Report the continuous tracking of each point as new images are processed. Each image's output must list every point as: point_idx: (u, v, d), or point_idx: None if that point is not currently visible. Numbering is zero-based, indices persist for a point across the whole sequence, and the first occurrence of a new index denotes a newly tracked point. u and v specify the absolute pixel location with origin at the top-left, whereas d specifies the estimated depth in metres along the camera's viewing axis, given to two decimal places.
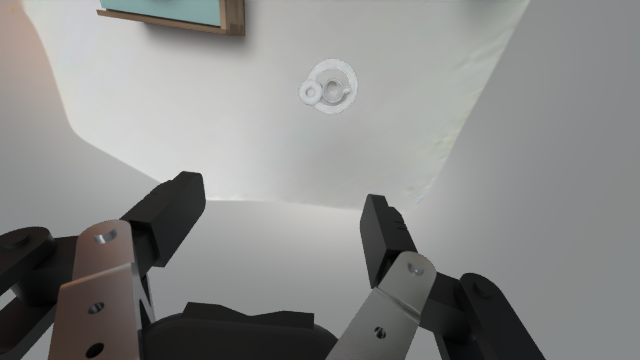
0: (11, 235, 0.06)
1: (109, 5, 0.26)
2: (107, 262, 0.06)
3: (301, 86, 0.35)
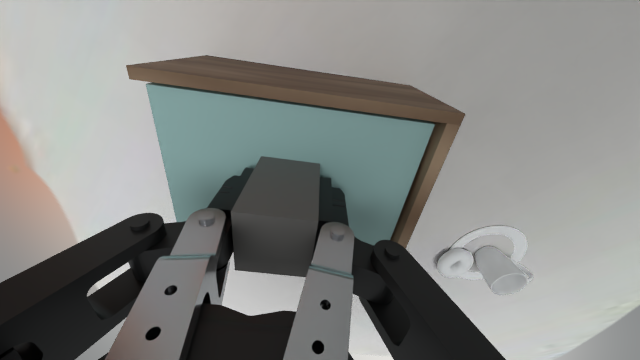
0: (138, 218, 0.07)
1: None
2: (219, 243, 0.07)
3: (447, 261, 0.23)
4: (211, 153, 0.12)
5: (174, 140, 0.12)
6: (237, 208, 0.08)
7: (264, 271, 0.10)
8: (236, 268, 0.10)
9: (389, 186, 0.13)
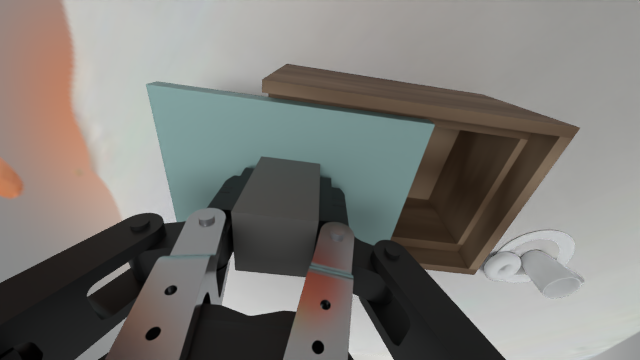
0: (138, 218, 0.07)
1: None
2: (219, 242, 0.07)
3: (497, 265, 0.24)
4: (211, 154, 0.12)
5: (174, 140, 0.12)
6: (237, 208, 0.08)
7: (264, 271, 0.10)
8: (236, 268, 0.10)
9: (389, 186, 0.13)
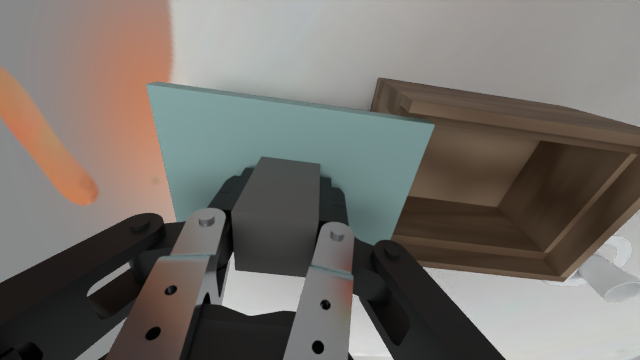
0: (138, 218, 0.07)
1: None
2: (219, 242, 0.07)
3: None
4: (211, 154, 0.12)
5: (174, 140, 0.12)
6: (237, 208, 0.08)
7: (264, 271, 0.10)
8: (236, 268, 0.10)
9: (388, 186, 0.13)
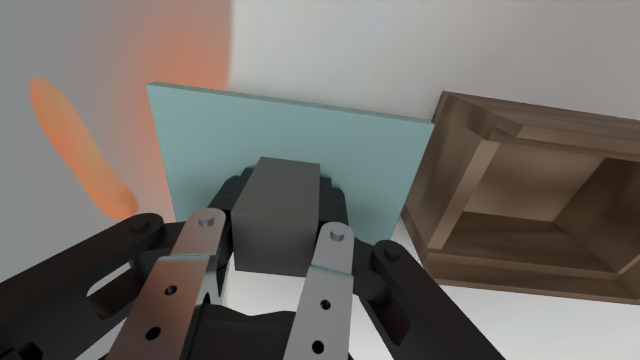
0: (138, 218, 0.07)
1: None
2: (219, 243, 0.07)
3: None
4: (211, 154, 0.12)
5: (174, 140, 0.12)
6: (237, 208, 0.08)
7: (264, 271, 0.10)
8: (236, 268, 0.10)
9: (389, 186, 0.13)
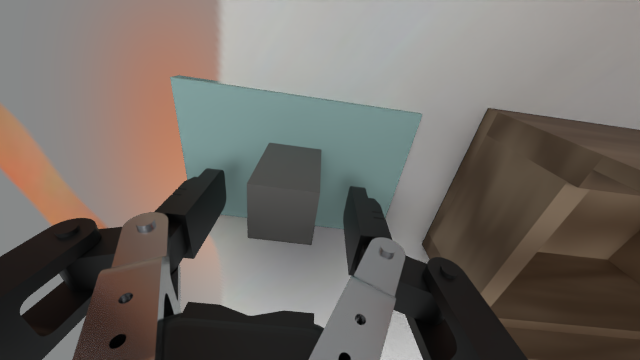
0: (64, 225, 0.07)
1: None
2: (152, 250, 0.07)
3: None
4: (225, 140, 0.13)
5: (192, 127, 0.13)
6: (252, 181, 0.10)
7: (273, 239, 0.11)
8: (249, 236, 0.11)
9: (382, 171, 0.14)
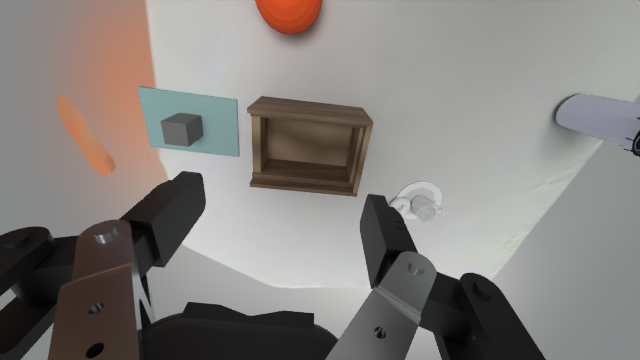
0: (11, 235, 0.06)
1: (156, 145, 0.35)
2: (107, 262, 0.06)
3: (394, 204, 0.39)
4: (161, 112, 0.33)
5: (147, 106, 0.33)
6: (162, 120, 0.29)
7: (174, 144, 0.31)
8: (165, 143, 0.31)
9: (229, 124, 0.34)
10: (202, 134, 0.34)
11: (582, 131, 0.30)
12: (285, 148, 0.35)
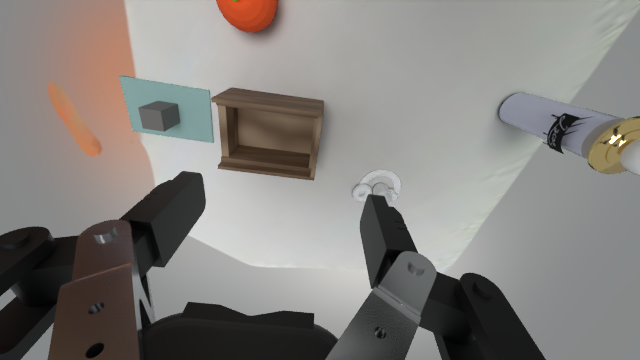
0: (11, 235, 0.06)
1: (138, 130, 0.39)
2: (107, 262, 0.06)
3: (355, 190, 0.43)
4: (141, 99, 0.37)
5: (128, 94, 0.36)
6: (140, 107, 0.33)
7: (151, 129, 0.34)
8: (143, 127, 0.34)
9: (203, 113, 0.38)
10: (179, 121, 0.38)
11: (517, 126, 0.34)
12: (254, 136, 0.39)
